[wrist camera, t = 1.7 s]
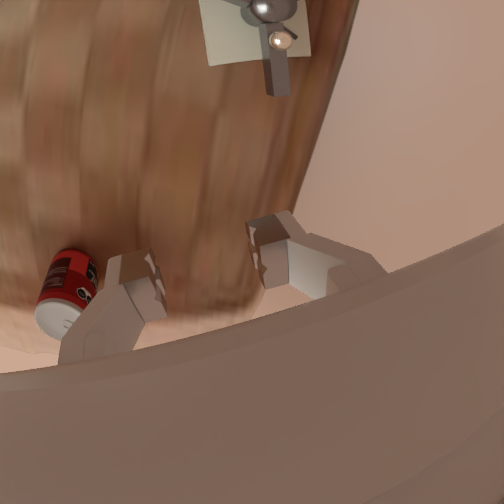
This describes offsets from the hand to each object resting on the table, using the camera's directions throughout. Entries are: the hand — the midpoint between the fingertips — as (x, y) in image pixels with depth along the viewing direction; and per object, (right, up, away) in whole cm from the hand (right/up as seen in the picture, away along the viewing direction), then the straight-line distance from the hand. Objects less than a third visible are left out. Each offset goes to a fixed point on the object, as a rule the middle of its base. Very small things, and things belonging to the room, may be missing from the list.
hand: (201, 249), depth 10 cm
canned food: (-25, -3, +29) cm, 38 cm away
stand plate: (+2, +27, +16) cm, 31 cm away
